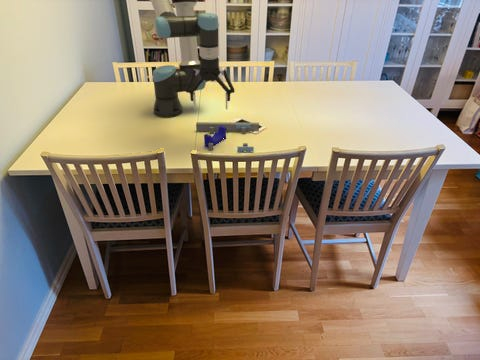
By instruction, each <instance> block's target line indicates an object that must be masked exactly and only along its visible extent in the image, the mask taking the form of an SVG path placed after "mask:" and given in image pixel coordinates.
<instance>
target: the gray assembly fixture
mask: <svg viewBox="0 0 480 360" xmlns="http://www.w3.org/2000/svg"><path fill="white" fill-rule="evenodd" d="M259 125H260V122H252V123H239V122H230V121H228V122H227V121H225V122H221V121H220V122H219V121H218V122H215V121H214V122H213V121H210V122H208V121H207V122H203V121H202V122H197V121H196V122H195V129H196V132H197V133H199V132H200V133H205V132H206V133H209V135H214V133H215V132H217V131H218V130H219V126H224V127H226V133H240V134H241V135H246V133H250V132H249V131H259ZM254 147H255V146H253V145H252V146H249V143H247V142H243V143H242V146H237V148H236V149H237V153H243V152H242V151H246V152H245V153H252V152H251V151H253V152H255V151H254ZM208 151H214V147H213V143H209V148H208ZM248 151H249V152H248Z"/></svg>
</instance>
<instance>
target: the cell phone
mask: <svg viewBox="0 0 480 360" xmlns="http://www.w3.org/2000/svg"><path fill="white" fill-rule="evenodd" d="M229 122H239V123H253V122H251V121H249V120H246V119H244V118H241V117H236V118H235V119H231V121H229ZM266 129H267V127H266V126H263V125H260V124H259V131H249V132H248V133H250V134H253V135H257V134H259V133H261V132H263V131H264V130H266Z"/></svg>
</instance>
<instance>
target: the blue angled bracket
mask: <svg viewBox="0 0 480 360" xmlns="http://www.w3.org/2000/svg"><path fill="white" fill-rule="evenodd" d="M223 138H224V139H225V140H226V139H227V132H226V127H224V126H219V130H218V131H217V132H214V134H209V133H208V134H207V133H205V134H204V135H203V139H204V142H203V143H204V145H203V146H204V148H206V147H207V148H206V149H209V143H213V146H214V147H215V146H217V145H218V144H220V143H222V142H223V141H225V140H224V139H223ZM222 140H223V141H222ZM221 141H222V142H221ZM219 142H220V143H219ZM216 144H217V145H216Z"/></svg>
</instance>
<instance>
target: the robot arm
mask: <svg viewBox="0 0 480 360" xmlns="http://www.w3.org/2000/svg"><path fill="white" fill-rule="evenodd" d="M148 1H149V2H151V5H152V7H153V8H152V9H153V11H154V13H155V16H156V17H155V18H154V28H155V29H154V30H155V33H156V37H158V38H159V39H169V38H170V39H172V38H174V39H175V38H178V39H179V41H178V42H179V48H180V51H179V52H180V60H181V61H180V63H179V64H178V66H179V67H178V68H177V67H176V66H175V65H172V64H166V65H162V66H161V65H160V66H158V67H156V68H155V69H153V71H152V82H153V86H154V87H153V88H154V96H155V101H154V105H153V114H154V115H155V116H157V117H160V118H174V117H178V116H180V115H182V114H183V106H182V103H181V101H180V98H179V94H178V93H183V92H186V93H187V94H189V95H190V96H189V97H190V98H189V99H190V102H193V104H192V105H193V110H196V108H197V102H196V101H197V100H196V92H197V91H202V90H203V89H205V87H206V86H207V85H206V83H207V82H215V81H216V83H218V84H219V86H221V88H222V89H223V90H224V91H225V110H228V102H230V101H231V94H232V93H233V94H234V93H235V88H234V85H233V84H232V82H231V79H230V77H229V75H228V71H227V69H226V68H224V69H220V58H219V56H220V55H219V53H220V46H219V40H220V39H219V37H220V36H219V27H220V24H219V17H218V14H216V13H213V12H202V13H196V14H195V7H196V5H197V4H198V3H197V0H148ZM173 7H174V8H175V11H174V8H173ZM197 37H198V40H197ZM198 43H199V45H198ZM198 48H199V49H198ZM198 50H199V52H198ZM220 75H221V76H223V77H224V79H225V81H226V83H227V85H228V86H227V85H226V83H224V82H223V80H222V79H221V77H219V76H220Z"/></svg>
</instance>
